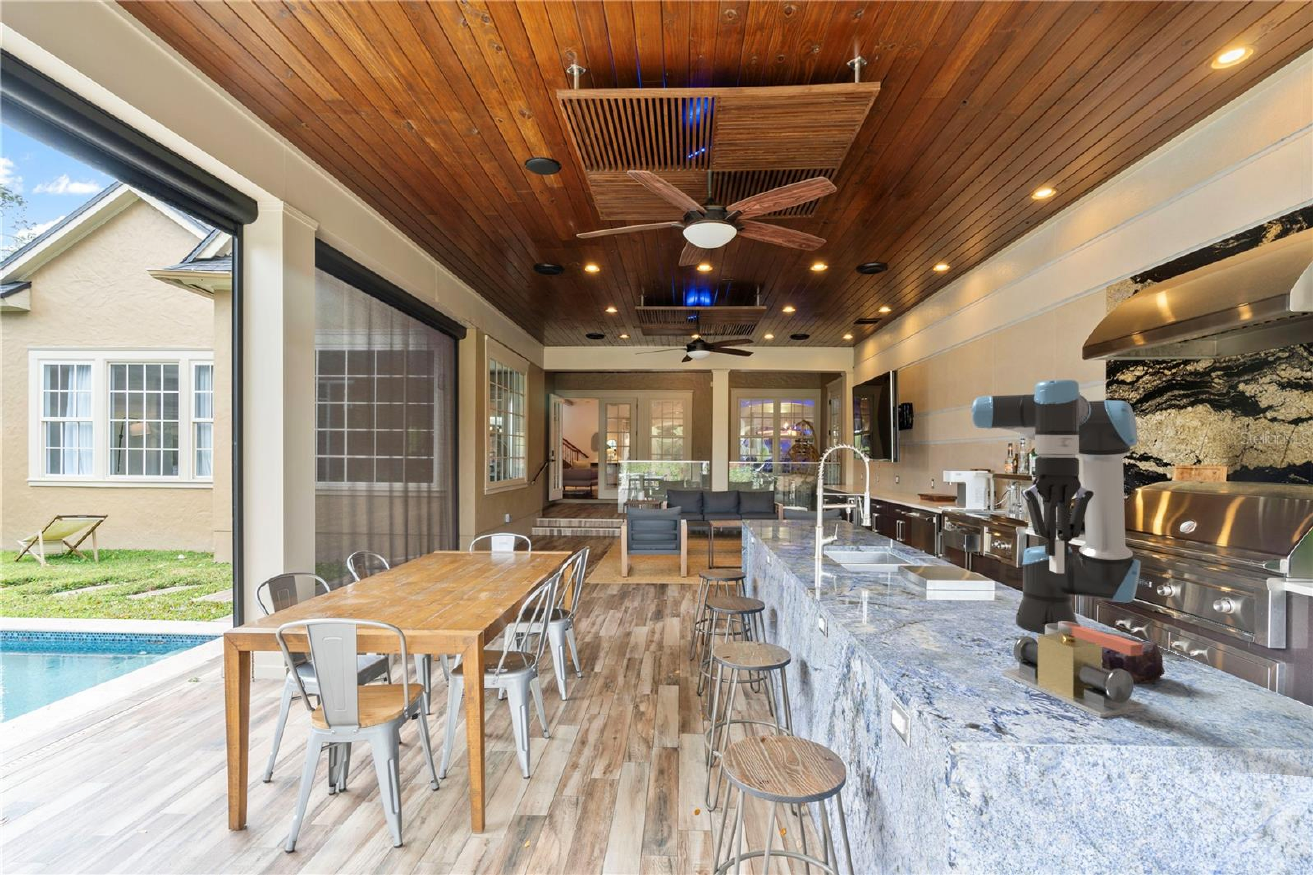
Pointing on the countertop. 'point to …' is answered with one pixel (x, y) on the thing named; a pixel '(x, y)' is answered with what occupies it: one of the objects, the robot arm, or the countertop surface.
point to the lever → (1101, 638)
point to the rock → (1136, 663)
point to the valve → (1073, 674)
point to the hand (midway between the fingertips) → (1056, 571)
